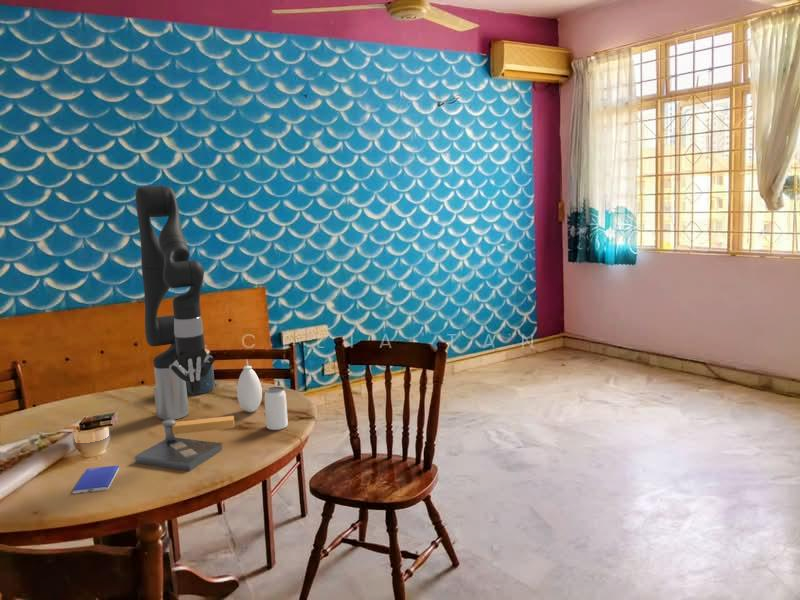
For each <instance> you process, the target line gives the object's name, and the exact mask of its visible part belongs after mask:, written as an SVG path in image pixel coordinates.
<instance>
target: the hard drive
mask: <svg viewBox="0 0 800 600" xmlns="http://www.w3.org/2000/svg"><path fill="white" fill-rule="evenodd" d="M119 470H120V466H119V465H118V464H117V465H116V464H115V465H109V466H101V467H92V468H86V469H85V471H84V472H83V474H82V476H81V477H80V479H79V480H78V482H77V484H76V485H75V487H74V488H73V489H72V494H73V493H75V494H81V493H80V492H83V493H89V492H88V491H92V492H99V491H105V490H106V491H107V490H109V488H110V487H111V485H112V483H113V481H114V479H115V478H116V476H117V473H119Z"/></svg>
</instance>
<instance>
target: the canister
mask: <svg viewBox="0 0 800 600" xmlns="http://www.w3.org/2000/svg"><path fill="white" fill-rule="evenodd" d="M205 351H206V353H207V355H208V356H210V357H213V356H212V354H211V351H210V350H209V349H207V348H205ZM210 354H211V355H210ZM204 363H205V362H203V363H202V365H201V368H202V366H203V364H204ZM214 373H215V371H214V364H212V366H211V368H210V369H209V371H208V373H207V375H206V376H205V377H202V378H201V379H200V391H199V393H197V394H192V393H191V392H189V389H188V381H186V388H187V396H195V395H196V396H197V395H202V394H207V393H209V392H212V391H213V390H214V389H215V388H216V387H215V385H216V381H215V374H214ZM185 376H186V373H185Z"/></svg>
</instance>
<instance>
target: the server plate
mask: <svg viewBox="0 0 800 600" xmlns="http://www.w3.org/2000/svg"><path fill="white" fill-rule="evenodd" d="M221 451H223V447H222V443H221V442H213V441H207V440H206V441H205V440H199V439H189V438H183V437H175V439H174V440H172V441H166V438H165V439H163V440H161V441H159V442H158V443H156V444H154V445H152V446H151V447H149V448H147V449H146V450H143V451H142V452H140V453H137V454H136V455H135V456H134V458H135V463H136V464H141V465H147V466H148V465H149V466H155V467H160V468H161V467H162V468H168V469H169V468H170V469H175V470H184V471H190V472H191V471H192V470H194V469H195V468H197V467H198V466H199V465H201V464H203V463H204V462H206V461H208V460H209V459H211V458H212V457H213V456H215V455H217V454H218V453H220V452H221Z"/></svg>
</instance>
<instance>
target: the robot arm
mask: <svg viewBox="0 0 800 600" xmlns="http://www.w3.org/2000/svg"><path fill="white" fill-rule="evenodd" d="M177 199H178V198H177V197H176V193H175V191H174V190H173V188H172V187H171V186H169V185H150V186H148V185H147V186H145V185H144V186H139V187H137V188H136V191H135V207H136V214H137V215H136V216H137V222H138V230H139V236H140V255H141V258H140V259H141V262H140V263H141V273H142V277H141V278H142V282H143V283H142V285H143V295H144V333H145V339H146V342H147V344H148V346H150V347H161V346H169V345H170V346H169V347H168V348H167V349H166V350H165V351H163V352H161V353H159V354H158V355H156V356H155V357H154V358H153V371H154V379H155V386H156V387H155V388H154V389H153V392H154V393H153V394H154V402H155V411H156V417H157V418H159V419H160V420H163V421H165V420H170V419H173V420H178V419H181V418H184V417H187V416H188V415H189V413H190V411H189V410H190V409H189V402H188V401H189V400H188V395H187V388H186V381H188V389H189V392H191V393H192V394H197V393H199V391H200V379H201V378H202V377H205V376H206V375H207V373H208V371H209V369H210V368H211V366H212V365H214V362H215V361H216V359H215V358H214V357H213V356H212V357H210V356H208V355H207V353H206V351H205V349H206V348H205V346H206V344H205V336H204V326H203V319H202V314H201V301H200V300H201V291H202V286H203V281H204V278H205V277H204V276H205V272H204V271H205V270H204V267H203V265H202V264H201V262H200V261H198V260H196V259H194V260H193V259H191V260H190V257H191V255H190V254H191V253H190V249H189V247H188V243H187V241H186V239H185V236H184V233H183V227H182V221H181V215H180V211H179V206H178V200H177ZM166 217H168V218H167V220H166V222H165V224H164V226H163V227H162V229H161V231H160V233H159V237H158V235H157V234H156V232H155V231H154V229H153V227H152V224H151V218H166ZM188 287H189V289H188V291H187V292H186V293H184V294H180V295H178V296H176V297H174V298H173V299H172V309H173V314H171V315H165V316H158V311H159V308H160V306H161V303H162V301H163V299H164V298H165V296H166V294H167V293H168V291H169V290H170V289H171V288H172V289H178V288H188ZM203 362H205V363H204V364H203V366H202V368H201V365H202V363H203ZM185 373H186V376H185ZM197 395H198V394H197Z"/></svg>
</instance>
